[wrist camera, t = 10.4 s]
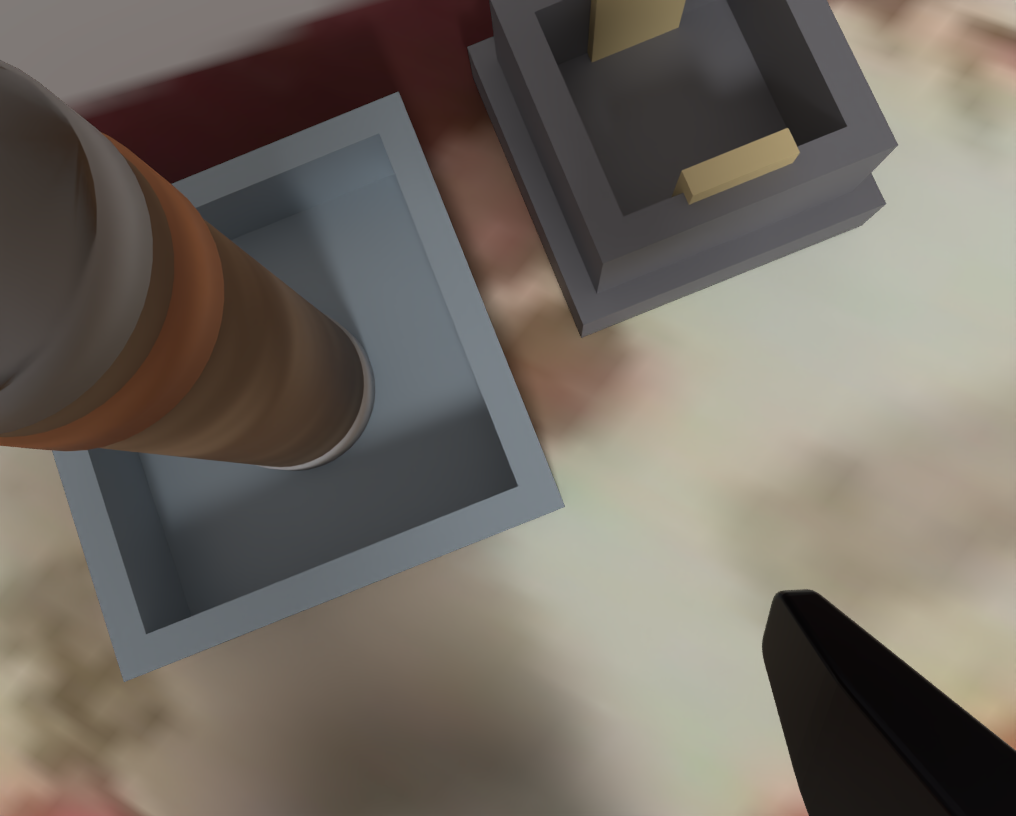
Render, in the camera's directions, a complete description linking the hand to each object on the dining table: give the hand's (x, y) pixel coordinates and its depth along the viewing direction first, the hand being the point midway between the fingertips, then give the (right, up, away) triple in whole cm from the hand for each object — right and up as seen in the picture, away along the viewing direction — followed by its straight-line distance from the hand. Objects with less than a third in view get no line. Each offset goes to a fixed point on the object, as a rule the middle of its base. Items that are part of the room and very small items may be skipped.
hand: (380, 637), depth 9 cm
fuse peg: (-4, +3, +11) cm, 12 cm away
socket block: (+6, +10, +12) cm, 17 cm away
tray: (-4, +3, +12) cm, 13 cm away
